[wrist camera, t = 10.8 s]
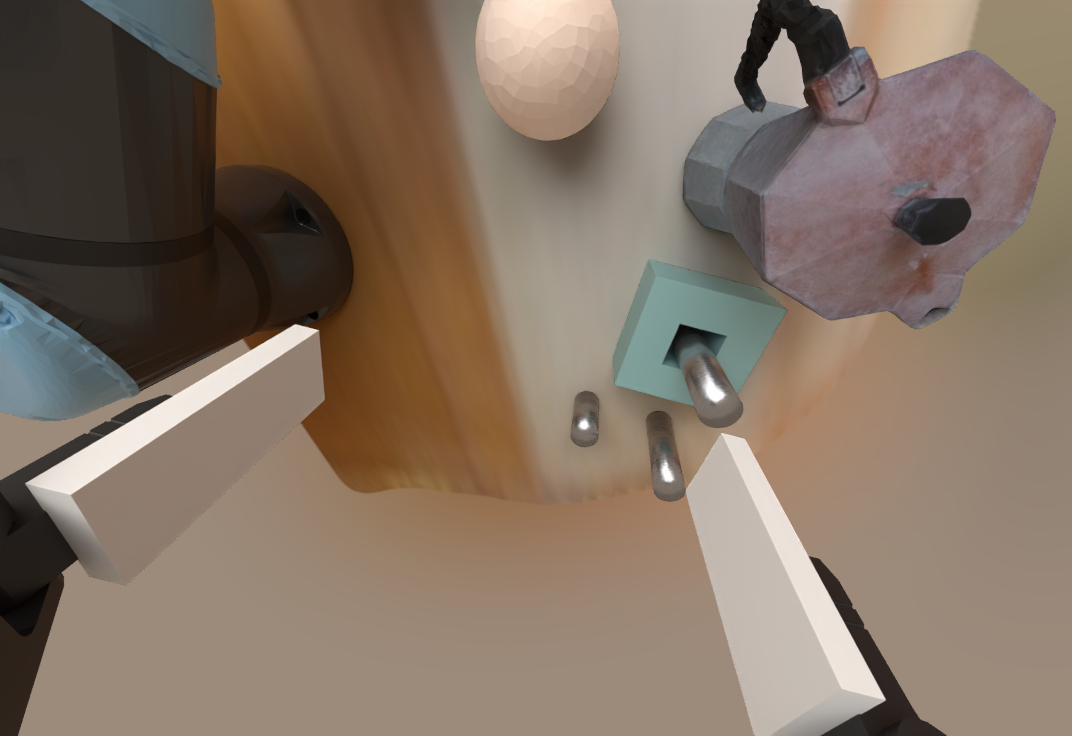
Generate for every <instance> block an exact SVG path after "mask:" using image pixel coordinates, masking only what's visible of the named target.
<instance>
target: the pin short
mask: <svg viewBox="0 0 1072 736" xmlns="http://www.w3.org/2000/svg"><path fill="white" fill-rule="evenodd" d="M598 419H599V399H598V397H597V396H596V395H595V394H594V393H592V392H589V391H584V392H581V393H579V394H578V395H577V396H576V398H575V403H574V411H573V419H572V427H571V439H572V441H573V442H574V443H575V444H576V445H578V446H581V447H589V446H592V445H594V444H595V443H596V442H597V440H598Z"/></svg>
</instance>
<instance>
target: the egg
mask: <svg viewBox="0 0 1072 736" xmlns="http://www.w3.org/2000/svg"><path fill="white" fill-rule="evenodd" d="M475 47H476V63H477V68H478V73H479V78H480V82H481V84H482V87H483V90H484V92H485V94H486V96H487V98H488V100H489V102H490V104H491V106H492V107H493V109H494V110H495V112H496V113H497V114H498V115H499V117H500V118H501V119H502V120H503V121H504V122H505V123H506V124H508V125H509V126H510V127H511V128H512V129H514V130H515V131H517V132H519V133H520V134H522V135H524V136H526V137H529V138H533V139H538V140H544V141H550V140H560V139H563V138H566V137H568V136H571V135H573V134H575V133H577V132H578V131H580V130H581V129H583V128H584V127H585V126H587V125H588V124H589V123H590V122H591V121H592V120H593V119H594V117H595V116H596V115H597V114H598V113H599V111H600V110H601V109H602V108H603V106H604V104H605V102H606V100H607V98H608V96H609V94H610V92H611V90H612V88H613V85H614V82H615V79H616V75H617V69H618V62H619V56H620V43H619V30H618V23H617V17H616V14H615V11H614V8H613V5H612V1H611V0H484V3H483V6H482V9H481V12H480V15H479V18H478V22H477V30H476V43H475Z"/></svg>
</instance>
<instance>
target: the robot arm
mask: <svg viewBox="0 0 1072 736" xmlns="http://www.w3.org/2000/svg"><path fill="white" fill-rule="evenodd" d="M221 85H222V79H221V78H220V77H219V75H218V73H217V59H216V34H215V13H214V6H213V2H212V0H0V411H1V412H3V413H6V414H10V415H13V416H17V417H21V418H25V419H31V420H40V421H60V420H66V419H71V418H76V417H79V416H83V415H85V414H87V413H90V412H92V411H94V410H97V409H99V408H101V407H104V406H106V405H108V404H111V403H113V402H115V401H118V400H120V399H122V398H131V397H134V396H136V395H137V394H139V393H140V391H142V390H144V389H146V388H148V387H150V386H152V385H154V384H156V383H158V382H159V381H161V380H163V379H165V378H167V377H169V376H171V375H173V374H175V373H177V372H179V371H181V370H183V369H185V368H187V367H189V366H191V365H193V364H195V363H196V362H198V361H200V360H202V359H204V358H206V357H208V356H210V355H212V354H214V353H216V352H218V351H220V350H222V349H223V348H225V347H227V346H229V345H231V344H233V343H235V342H237V341H239V340H241V339H243V338H245V337H247V336H249V335H251V334H253V333H255V332H261V331H270V330H280V329H287V330H285V331H283V332H281V333H280V334H278V335H276V336H275V337H273V338H271V339H270V340H268V341H266V342H264V343H263V344H261V345H259V346H258V347H256V348H254V349H253V350H251V351H249V352H247V353H246V354H244V355H242V356H241V357H239V358H237V359H236V360H234V361H233V362H230V363H229V364H227V365H226V366H224V367H222V368H220V369H219V370H217V371H215V372H214V373H212V374H210V375H208V376H207V377H205V378H203V379H202V380H200V381H198V382H197V383H195V384H193V385H191V386H190V387H188V388H187V389H185V390H183V391H182V392H180V393H178V394H176V395H174V396H170V395H163V396H160V397H157V398H154V399H151V400H148V401H145V402H142V403H139V404H136V405H135V406H133V407H131V408H129V409H127V410H126V411H124V412H122V413H120V414H118V415H117V416H115V417H113V418H111V421H110V422H104V423H103V424H101V425H99V426H97V427H95V428H93V429H92V430H90V433H89V434H83V435H81V436H79V437H77V438H75V439H74V440H72V441H70V442H68V443H67V444H65V445H63V446H61V447H59V448H58V449H56V450H54V451H52V452H51V453H49V454H47V455H45V456H44V457H41V458H40V459H38V460H36V461H35V462H33V463H31V464H29V465H28V466H25V467H24V468H22V469H20V470H18V471H16V472H15V473H13V474H11V475H9V476H8V477H6V478H4V479H2V480H0V736H18V733H19V730H20V727H21V724H22V721H23V717H24V714H25V711H26V708H27V704H28V701H29V698H30V694H31V691H32V688H33V685H34V682H35V678H36V675H37V672H38V669H39V665H40V662H41V659H42V655H43V652H44V649H45V646H46V642H47V639H48V636H49V633H50V630H51V626H52V623H53V620H54V616H55V613H56V610H57V607H58V604H59V600H60V597H61V594H62V591H63V587H64V576H63V574H62V573H61V572H63V571H64V570H65V569H66V568H68V567H69V566H70V565H71V564H73V563H74V562H75V561H76V560H78V561H79V562H80V564H81V565H82V567H83V568H84V570H85V571H86V573H87V574H88V575H89V577H93V578H97V579H101V580H105V581H109V582H113V583H117V584H121V585H125V586H127V585H128V584H129V583H130V582H131V581H132V580H133V579H134V578H135V577H136V576H138V575H139V574H140V573H141V572H142V571H143V570H144V569H145V568H146V567H147V566H148V565H149V564H150V563H151V562H153V561H154V560H155V559H156V558H157V557H158V556H159V555H160V554H161V553H162V552H163V551H164V550H165V549H166V548H167V547H168V546H170V545H171V544H172V543H173V542H174V541H175V540H176V539H177V538H178V537H179V536H180V535H181V534H182V533H183V532H184V531H185V530H187V529H188V528H189V527H190V526H191V525H192V524H193V523H194V522H195V521H196V520H197V519H198V518H199V517H200V516H201V515H202V514H204V513H205V512H206V511H207V510H208V509H209V508H210V507H211V506H212V505H213V504H214V503H215V502H216V501H217V500H219V499H220V498H221V497H222V496H223V495H224V494H225V493H226V492H227V491H228V490H229V489H230V488H231V487H232V486H233V485H234V484H236V483H237V482H238V481H239V479H241V478H242V477H243V476H244V475H245V474H246V473H247V472H248V471H249V470H250V469H251V468H252V467H254V466H255V465H256V464H257V463H258V462H259V461H260V460H261V459H262V458H263V457H264V456H265V455H266V454H267V453H269V452H270V451H271V450H272V449H273V448H274V447H275V446H276V445H277V444H278V443H279V442H280V441H281V440H282V439H283V438H284V437H285V436H287V435H288V434H289V433H290V432H291V431H292V430H293V429H294V428H295V427H296V426H297V425H298V424H299V423H300V422H302V421H303V420H304V419H305V418H306V417H307V416H308V415H309V414H310V413H311V412H312V411H313V410H314V409H315V408H316V407H318V406H319V405H320V404H321V403H322V402H323V401H324V400H325V395H324V384H323V372H322V360H321V348H320V337H319V330H316V329H312V328H308V327H304V326H308V325H311V324H314V323H316V322H319V321H320V320H322V319H324V318H326V317H327V316H329V315H331V314H333V313H334V312H335V311H337V310H338V309H339V308H340V307H341V306H342V304H343V303H344V302H345V300H346V298H347V296H348V294H349V291H350V288H351V283H352V259H351V254H350V250H349V246H348V243H347V240H346V238H345V235H344V233H343V231H342V229H341V227H340V225H339V223H338V221H337V220H336V218H335V216H334V215H333V214H332V212H331V211H330V209H329V208H328V207H327V205H326V204H325V203H324V202H323V201H322V200H321V199H320V198H319V196H318V195H317V194H316V193H314V192H313V191H312V190H311V189H310V188H309V187H308V186H306V185H305V184H304V183H302V182H301V181H299V180H298V179H296V178H295V177H293V176H291V175H289V174H287V173H285V172H283V171H281V170H278V169H275V168H272V167H268V166H262V165H233V166H226V167H222V168H218V169H216V170H215V160H216V105H217V89H220V88H221ZM685 492H686V495H687V499H688V502H689V506H690V510H691V513H692V516H693V520H694V524H695V527H696V531H697V534H698V538H699V541H700V545H701V549H702V552H703V556H704V559H705V563H706V566H707V570H708V573H709V577H710V580H711V584H712V587H713V591H714V595H715V598H716V602H717V605H718V608H719V612H720V616H721V619H722V623H723V626H724V630H725V633H726V637H727V641H728V644H729V648H730V651H731V655H732V658H733V662H734V665H735V669H736V672H737V676H738V679H739V683H740V687H741V690H742V693H743V697H744V701H745V704H746V708H747V711H748V715H749V719H750V722H751V725H752V729H753V733H754V736H946V735H945V734H944V733H942V732H941V731H940V730H938V729H937V728H935V727H934V726H932V725H931V724H929V723H928V722H925V721H922V720H920V718H919V717H918V716H917V714H916V713H915V711H914V709H913V708H912V706H911V704H910V703H909V701H908V699H907V697H906V696H905V694H904V692H903V690H902V689H901V687H900V685H899V684H898V682H897V680H896V679H895V677H894V675H893V673H892V672H891V670H890V668H889V666H888V665H887V663H886V661H885V659H884V658H883V656H882V654H881V653H880V651H879V649H878V647H877V646H876V644H875V642H874V641H873V639H872V637H871V635H870V634H869V632H868V630H865V629H864V623H863V622H862V620H861V618H860V616H859V615H858V613H857V611H856V610H855V609H853V608H852V603H851V601H850V599H849V598H848V596H847V594H846V592H845V591H844V589H843V587H842V585H841V584H840V582H839V581H838V579H837V578H836V577H835V576H834V575H833V574H832V573H831V572H830V570H829V569H828V568H827V567H826V566H825V565H824V564H823V563H822V562H821V560H820V559H818V558H814V557H810V556H808V555H807V553H806V551H805V549H804V548H803V546H802V544H801V542H800V540H799V538H798V536H797V535H796V533H795V531H794V529H793V527H792V525H791V524H790V522H789V520H788V518H787V516H786V514H785V512H784V511H783V509H782V507H781V505H780V503H779V501H778V500H777V498H776V496H775V494H774V492H773V490H772V488H771V487H770V485H769V483H768V481H767V479H766V477H765V476H764V474H763V472H762V470H761V468H760V466H759V464H758V462H757V461H756V459H755V457H754V455H753V453H752V451H751V449H750V448H749V446H748V444H747V442H746V440H745V439H743V438H739V437H736V436H732V435H728V434H724V433H721V434H720V436H719V438H718V439H717V441H716V442H715V444H714V446H713V447H712V449H711V450H710V452H709V454H708V455H707V457H706V459H705V460H704V462H703V463H702V465H701V467H700V468H699V470H698V471H697V473H696V475H695V476H694V478H693V479H692V481H691V483H690V484H689V486H688V488H687V489H686V491H685Z"/></svg>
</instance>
